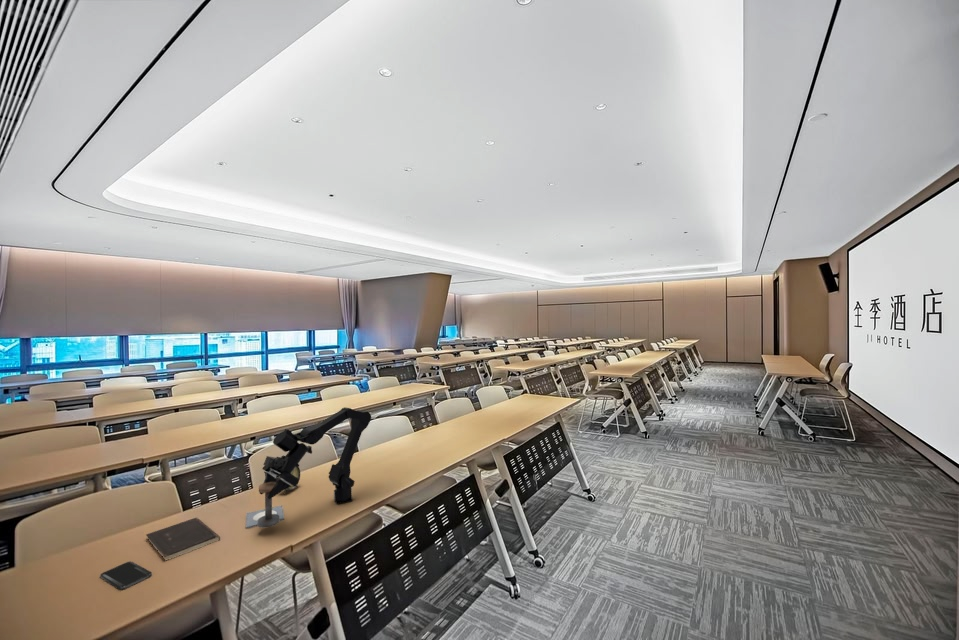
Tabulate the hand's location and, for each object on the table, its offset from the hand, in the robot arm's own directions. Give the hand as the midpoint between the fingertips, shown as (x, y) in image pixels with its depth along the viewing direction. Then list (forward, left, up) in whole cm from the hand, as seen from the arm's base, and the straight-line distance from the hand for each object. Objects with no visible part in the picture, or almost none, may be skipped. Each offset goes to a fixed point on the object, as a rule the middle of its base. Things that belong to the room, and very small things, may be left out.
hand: (264, 496), depth 146 cm
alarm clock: (-10, -37, -14) cm, 40 cm away
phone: (+38, +6, -14) cm, 41 cm away
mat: (0, -14, -13) cm, 19 cm away
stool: (-1, -1, -10) cm, 11 cm away
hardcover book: (+26, -10, -14) cm, 31 cm away
